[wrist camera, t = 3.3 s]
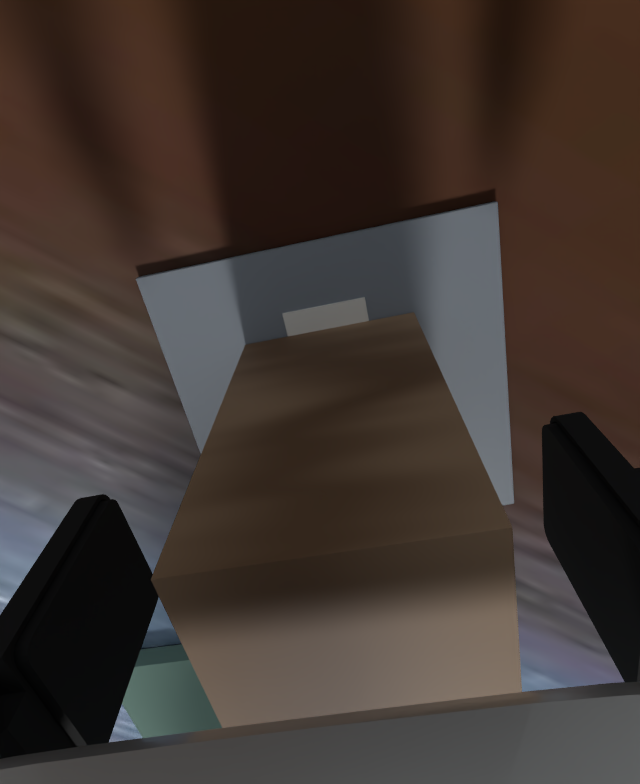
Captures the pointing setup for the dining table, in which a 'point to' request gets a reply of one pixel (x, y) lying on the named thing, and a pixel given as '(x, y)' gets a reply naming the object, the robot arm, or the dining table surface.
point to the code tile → (350, 313)
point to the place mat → (167, 694)
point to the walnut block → (341, 536)
